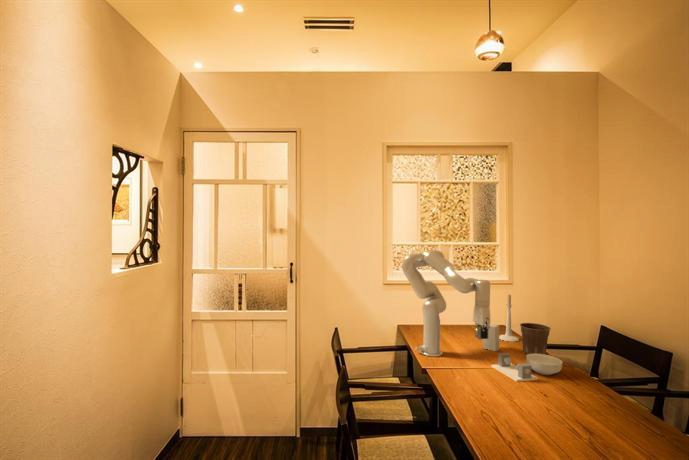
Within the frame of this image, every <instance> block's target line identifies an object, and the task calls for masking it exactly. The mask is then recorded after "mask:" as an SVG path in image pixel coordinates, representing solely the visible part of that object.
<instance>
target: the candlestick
mask: <svg viewBox="0 0 689 460" xmlns="http://www.w3.org/2000/svg"><path fill="white" fill-rule="evenodd" d="M511 299H512V294H509V293H508V294H507V304H506V308H507V310H506V311H507V312H506V313H507V314H506V325H505V334H499V339H501V340H500V341H502V340H504V341H503V342H506V341H509V342H508V343H517V342H516V341H518V342H520V338H519V337H517V336H516V335H513V334H512V312H511V311H512V310H511V309H512V306H513V304H512V300H511Z"/></svg>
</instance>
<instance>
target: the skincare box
mask: <svg viewBox="0 0 689 460" xmlns="http://www.w3.org/2000/svg"><path fill="white" fill-rule="evenodd" d="M485 325H486V324H485ZM499 336H500V325H499V324H494V323H493V324H492V323H490V328H489V331H488V339H482V349H483V348H484V349H483V350H487V349H488V350H489V351H491V352H498V351H500V346H501V345H500V344H501V343H500V340H499Z"/></svg>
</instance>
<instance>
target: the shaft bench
mask: <svg viewBox="0 0 689 460" xmlns="http://www.w3.org/2000/svg"><path fill="white" fill-rule="evenodd" d="M497 354H498V355H497V364H491V368H493V369H494V370H497V371H498V372H500V373H501V374H503V375H505V376H506V377H508V378H510V379H511V380H513V381H515V382H516V383H517V382H518V383H519V382H529V381H530V382H531V381H538V380H539V377H537V376H535V375H533V374H532V369H531V365H529V364H527V363H518V364H517V365H516V364H513V363H512V361H513V360H512V358H511V354H510V353H507V352H502V353H501V352H500V353H497Z"/></svg>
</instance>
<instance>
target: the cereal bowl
mask: <svg viewBox="0 0 689 460" xmlns="http://www.w3.org/2000/svg"><path fill="white" fill-rule="evenodd" d="M525 355H526V356H525V364H529V365H531V370H533V371H534V372H535V373H537V374H539V375H542V376H550V375H554V374H557V373H559V372H560V371H561V370H562V368H563V360H561V359H560V358H558V357H555V356H552V355H549V354H546V355H544V354H525Z"/></svg>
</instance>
